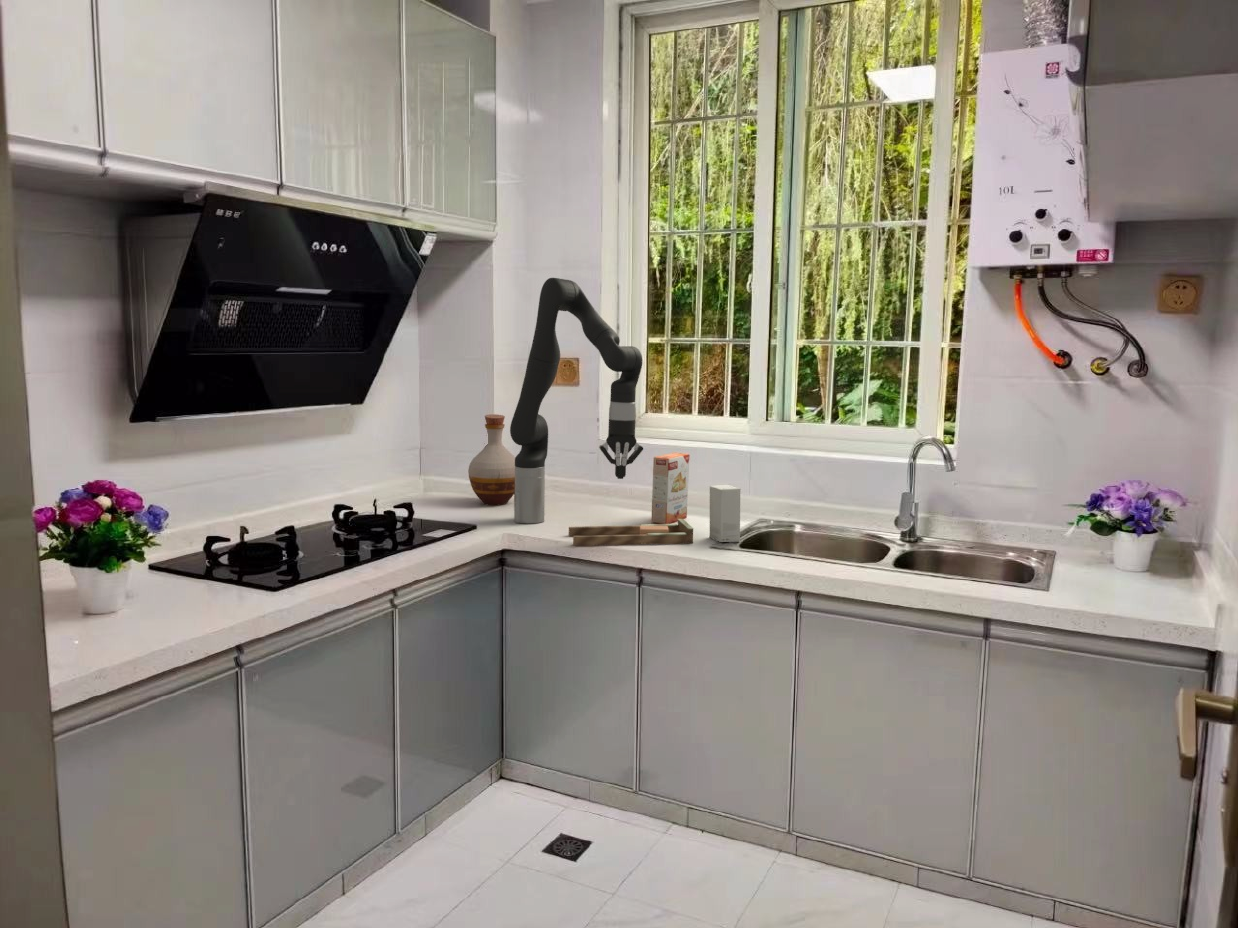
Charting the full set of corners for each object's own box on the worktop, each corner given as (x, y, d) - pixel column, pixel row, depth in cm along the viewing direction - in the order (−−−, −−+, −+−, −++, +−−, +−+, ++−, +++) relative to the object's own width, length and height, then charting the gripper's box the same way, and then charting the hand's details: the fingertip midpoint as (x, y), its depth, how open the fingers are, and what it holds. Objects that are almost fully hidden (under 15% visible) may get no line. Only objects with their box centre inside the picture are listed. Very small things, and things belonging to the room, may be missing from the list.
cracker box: (667, 525, 286) (669, 458, 282) (650, 523, 289) (652, 456, 285) (688, 517, 297) (690, 453, 294) (671, 515, 300) (673, 451, 297)
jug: (461, 499, 321) (460, 413, 317) (510, 495, 329) (510, 411, 324) (477, 509, 304) (476, 418, 299) (528, 506, 311) (528, 417, 307)
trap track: (573, 545, 258) (573, 530, 257) (568, 535, 270) (568, 520, 270) (693, 543, 263) (693, 528, 263) (682, 532, 276) (682, 518, 275)
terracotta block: (640, 542, 263) (640, 529, 263) (639, 538, 268) (639, 525, 268) (668, 543, 264) (668, 529, 263) (667, 539, 269) (667, 525, 268)
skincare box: (740, 542, 265) (742, 488, 263) (719, 543, 263) (720, 489, 261) (728, 535, 273) (729, 483, 271) (707, 537, 271) (709, 484, 269)
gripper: (642, 416, 265) (640, 476, 268) (597, 415, 263) (595, 475, 266) (647, 419, 258) (645, 480, 261) (600, 418, 256) (598, 480, 259)
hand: (620, 478), depth 263 cm, fingers closed
